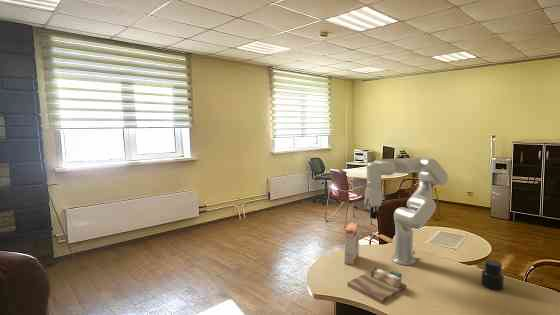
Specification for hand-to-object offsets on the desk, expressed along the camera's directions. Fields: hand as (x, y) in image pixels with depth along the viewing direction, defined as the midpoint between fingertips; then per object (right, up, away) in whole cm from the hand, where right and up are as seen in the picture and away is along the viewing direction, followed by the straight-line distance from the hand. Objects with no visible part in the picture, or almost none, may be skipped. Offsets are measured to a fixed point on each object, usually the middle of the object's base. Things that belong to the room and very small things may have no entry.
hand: (373, 218), depth 170 cm
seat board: (-3, -31, -16) cm, 35 cm away
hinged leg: (+1, -29, -14) cm, 32 cm away
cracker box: (-8, -28, +15) cm, 33 cm away
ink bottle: (+53, -30, -17) cm, 63 cm away
